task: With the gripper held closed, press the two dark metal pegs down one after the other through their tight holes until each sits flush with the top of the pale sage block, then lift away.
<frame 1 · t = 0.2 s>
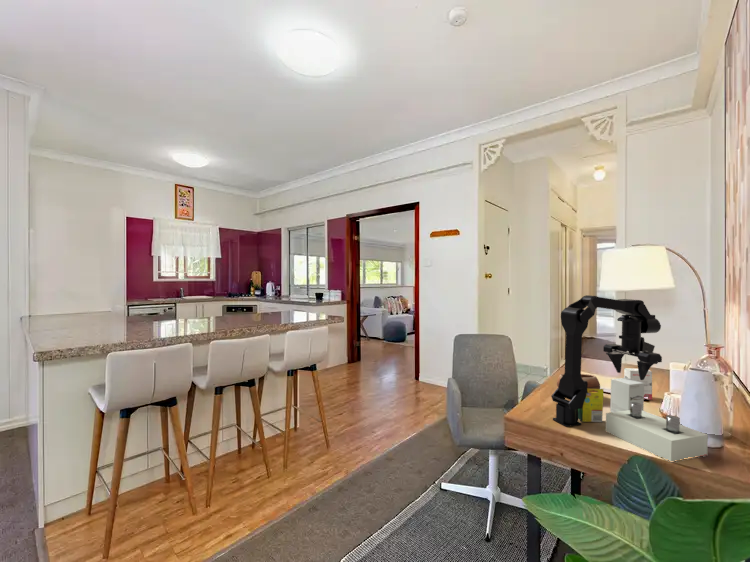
hand: (630, 376, 130), 14 cm above the table, tool pointing down, fingers open, 9 cm apart
supplement box: (626, 415, 131), on the table
crayon box: (589, 421, 125), on the table, touching arm
peg near arm: (635, 412, 114), point 7 cm above the table, slide at 4.0 cm
peg far side: (672, 426, 103), point 7 cm above the table, slide at 4.0 cm
ink box: (637, 398, 149), on the table
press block: (652, 442, 109), on the table
bowl: (577, 397, 149), on the table
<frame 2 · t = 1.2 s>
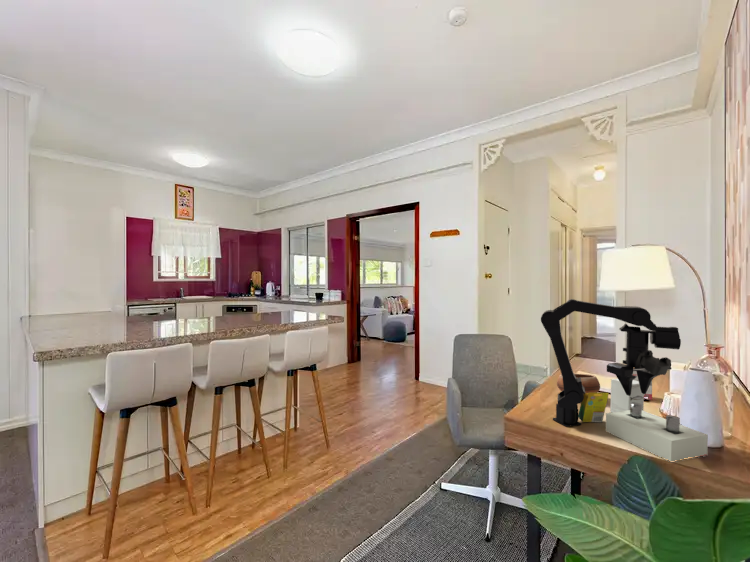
hand: (636, 394, 114), 13 cm above the table, tool pointing down, fingers open, 6 cm apart
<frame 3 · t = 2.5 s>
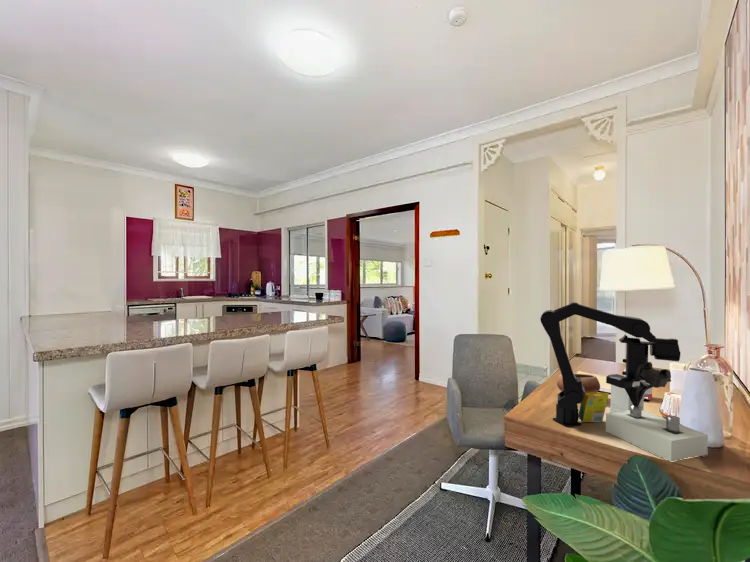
hand: (635, 405, 114), 9 cm above the table, tool pointing down, fingers closed, pressing on peg near arm
peg near arm: (635, 414, 114), point 7 cm above the table, slide at 3.3 cm, touching gripper
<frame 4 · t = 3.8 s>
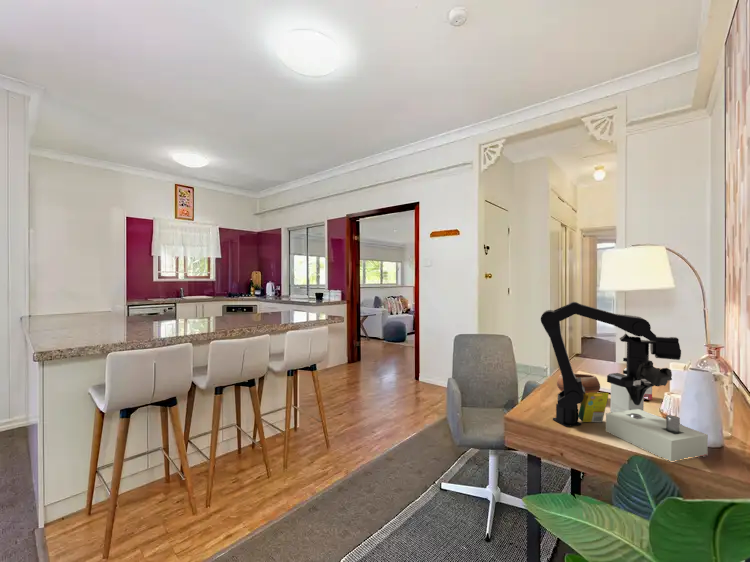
hand: (636, 404, 114), 10 cm above the table, tool pointing down, fingers closed
peg near arm: (635, 423, 114), point 4 cm above the table, slide at 0.4 cm
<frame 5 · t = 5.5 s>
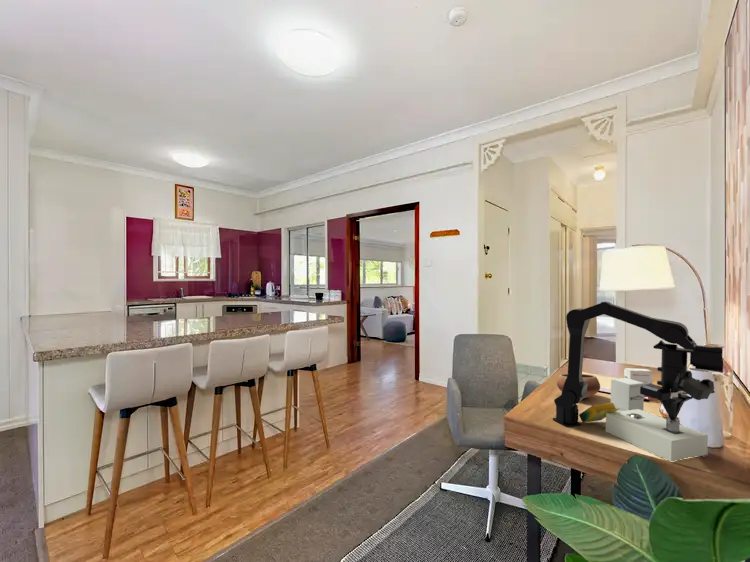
hand: (672, 419, 103), 9 cm above the table, tool pointing down, fingers closed, pressing on peg far side
crayon box: (589, 417, 124), point 1 cm above the table, touching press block
peg far side: (672, 428, 103), point 7 cm above the table, slide at 3.5 cm, touching gripper
everything else where it was.
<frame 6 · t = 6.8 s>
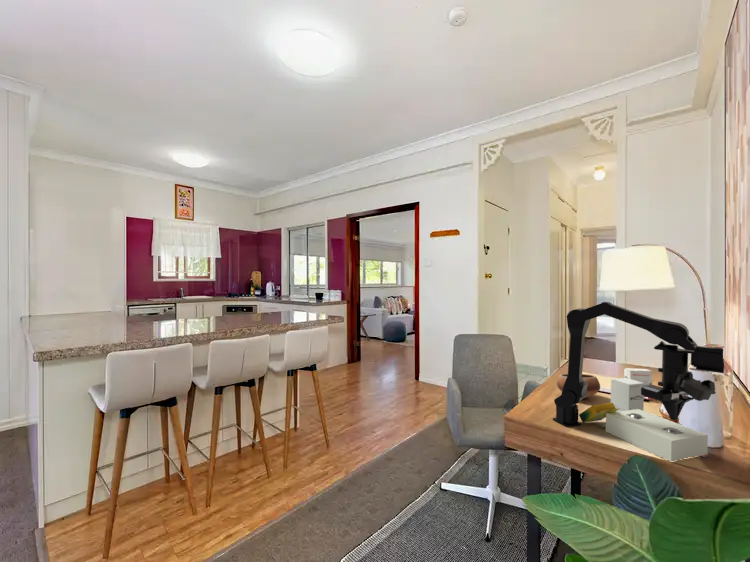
hand: (673, 419, 103), 9 cm above the table, tool pointing down, fingers closed
peg far side: (672, 439, 103), point 4 cm above the table, slide at 0.4 cm
everything else where it was.
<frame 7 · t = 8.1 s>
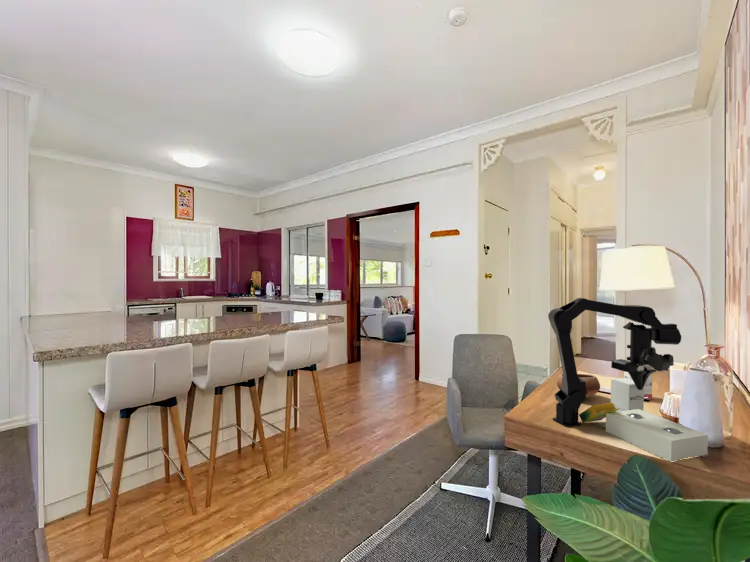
hand: (639, 389, 119), 13 cm above the table, tool pointing down, fingers closed
nothing on the table moved.
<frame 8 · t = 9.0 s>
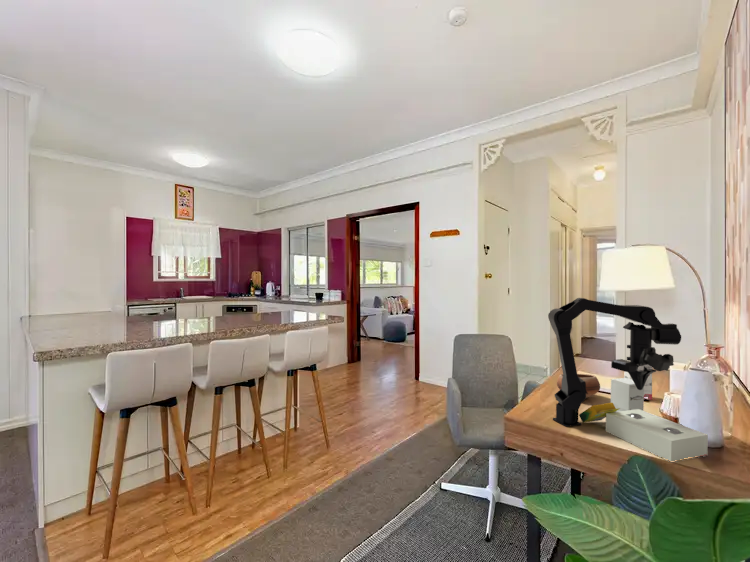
hand: (639, 389, 119), 13 cm above the table, tool pointing down, fingers closed
nothing on the table moved.
at the end: peg near arm slide at 0.4 cm; peg far side slide at 0.4 cm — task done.
